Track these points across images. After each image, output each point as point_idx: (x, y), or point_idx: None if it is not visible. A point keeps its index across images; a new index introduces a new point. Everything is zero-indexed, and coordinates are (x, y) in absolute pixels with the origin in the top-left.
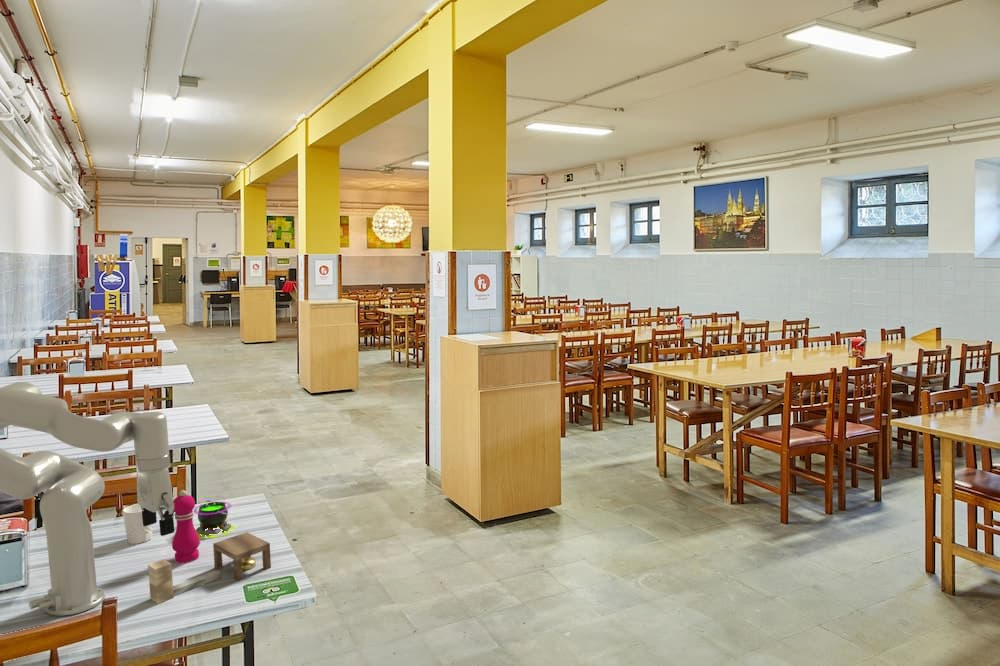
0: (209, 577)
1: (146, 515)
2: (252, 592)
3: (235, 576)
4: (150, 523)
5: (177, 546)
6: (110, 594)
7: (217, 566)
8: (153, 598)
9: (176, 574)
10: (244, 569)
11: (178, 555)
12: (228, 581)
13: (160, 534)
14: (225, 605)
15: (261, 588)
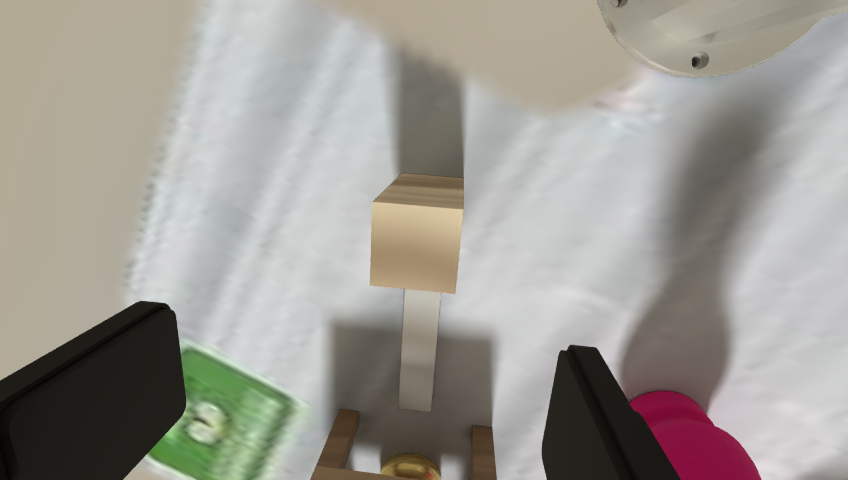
0: (400, 370)
1: (591, 463)
2: (230, 387)
3: (346, 418)
4: (553, 407)
5: (680, 439)
6: (649, 97)
7: (472, 433)
8: (434, 177)
9: (566, 334)
10: (387, 462)
11: (670, 412)
12: (358, 393)
13: (153, 304)
14: (211, 297)
15: (234, 414)
